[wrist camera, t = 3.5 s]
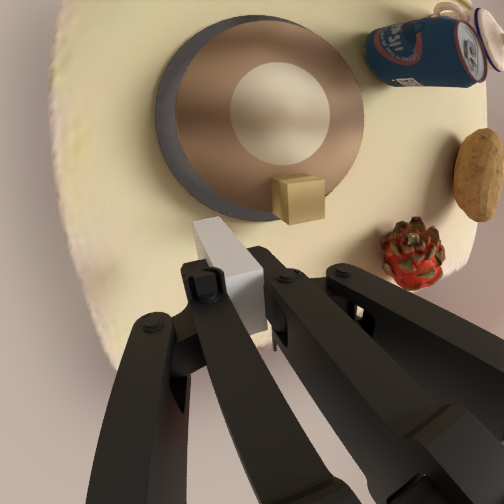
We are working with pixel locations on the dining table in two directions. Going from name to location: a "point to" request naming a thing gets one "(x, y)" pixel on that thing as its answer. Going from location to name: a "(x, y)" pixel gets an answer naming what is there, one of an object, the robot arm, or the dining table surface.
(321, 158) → the turntable
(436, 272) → the dragon fruit
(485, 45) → the teacup with lid
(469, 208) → the potato
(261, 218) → the turntable base
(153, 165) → the dining table surface
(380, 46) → the soda can
